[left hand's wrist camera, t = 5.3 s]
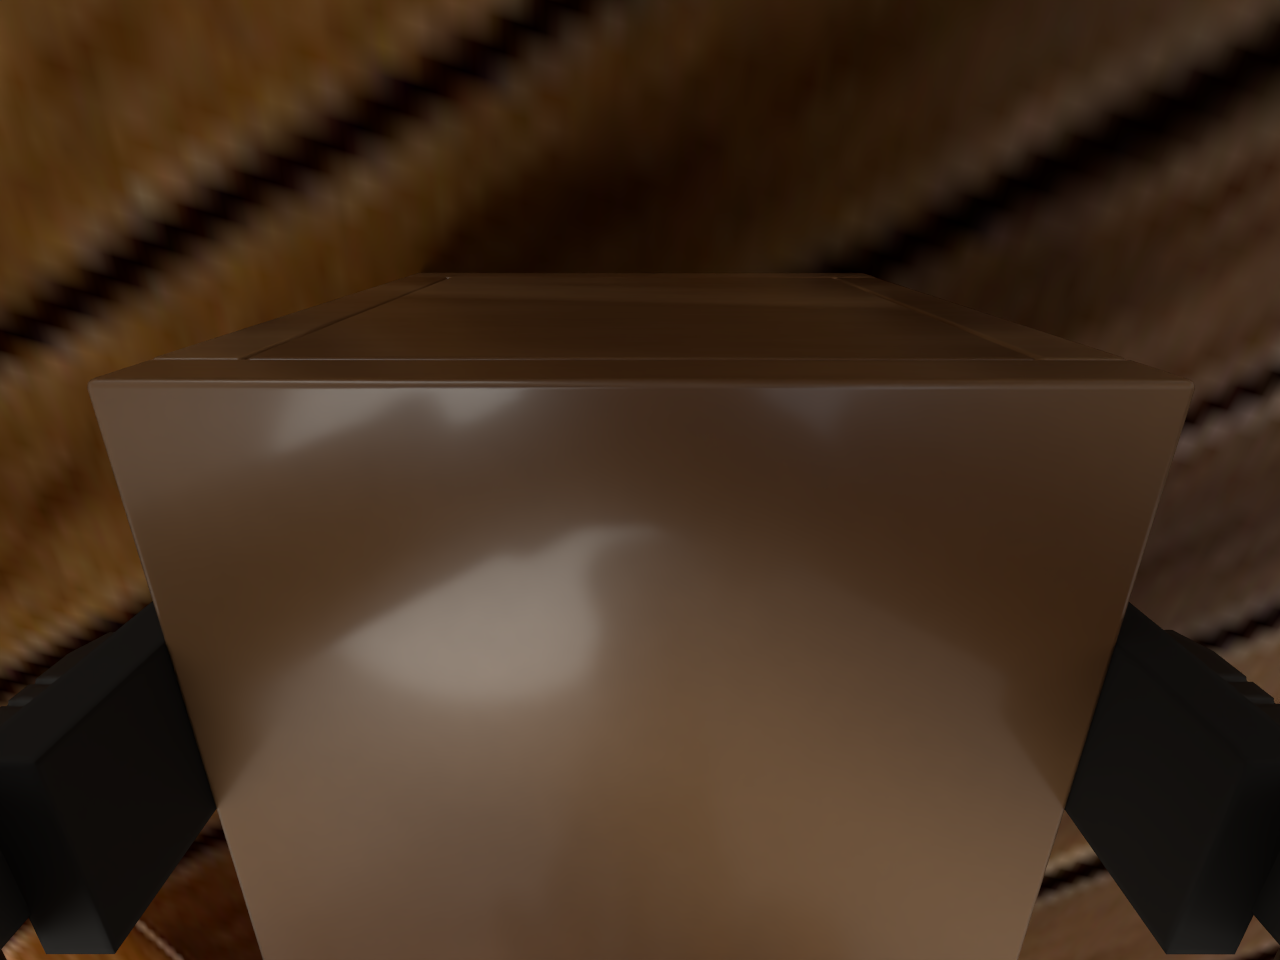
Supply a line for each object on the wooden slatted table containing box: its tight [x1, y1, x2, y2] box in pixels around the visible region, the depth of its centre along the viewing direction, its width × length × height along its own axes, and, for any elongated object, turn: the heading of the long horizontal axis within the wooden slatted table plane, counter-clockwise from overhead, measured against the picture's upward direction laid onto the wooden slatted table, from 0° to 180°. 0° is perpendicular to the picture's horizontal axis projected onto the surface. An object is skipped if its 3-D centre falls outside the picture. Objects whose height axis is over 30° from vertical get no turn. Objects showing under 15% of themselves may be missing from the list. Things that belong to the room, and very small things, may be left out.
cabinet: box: [88, 273, 1194, 960], centre depth 16 cm, size 22×12×12 cm, turn 0°
